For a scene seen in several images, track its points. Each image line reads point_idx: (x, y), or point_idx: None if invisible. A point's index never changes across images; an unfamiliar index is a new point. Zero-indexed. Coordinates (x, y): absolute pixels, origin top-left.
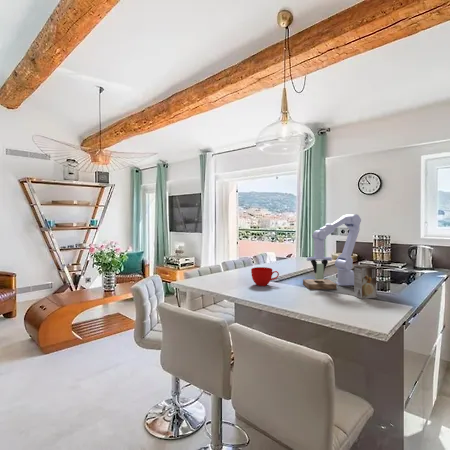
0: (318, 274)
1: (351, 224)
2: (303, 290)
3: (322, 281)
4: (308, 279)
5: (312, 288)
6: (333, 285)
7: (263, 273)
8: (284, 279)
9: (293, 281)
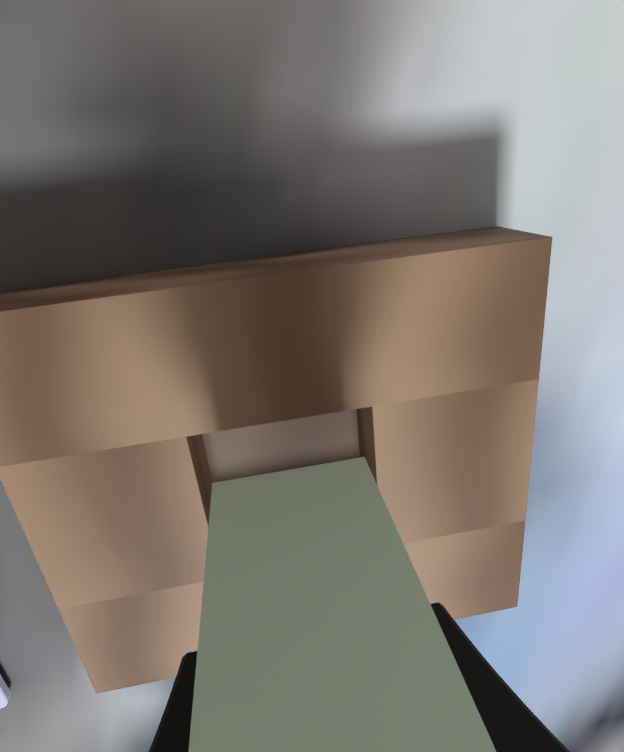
0: (354, 542)
1: None
2: (610, 138)
3: None
4: None
5: (443, 235)
6: (17, 304)
7: None
8: (612, 715)
9: (548, 656)
